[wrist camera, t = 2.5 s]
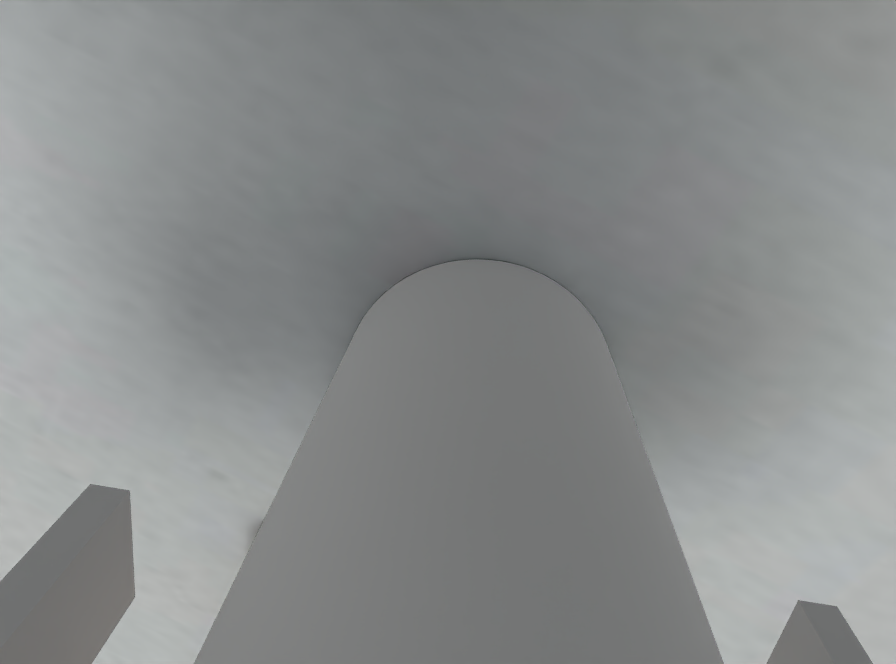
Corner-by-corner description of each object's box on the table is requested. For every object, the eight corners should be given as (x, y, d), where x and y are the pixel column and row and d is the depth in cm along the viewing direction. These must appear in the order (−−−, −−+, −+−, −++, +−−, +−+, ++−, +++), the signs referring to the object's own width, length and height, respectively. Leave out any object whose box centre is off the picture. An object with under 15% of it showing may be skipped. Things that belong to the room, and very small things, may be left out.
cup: (297, 401, 21) (-167, 1242, 6) (452, 200, 18) (254, 908, 3) (497, 532, 22) (500, 1441, 8) (669, 368, 19) (1192, 1345, 5)
